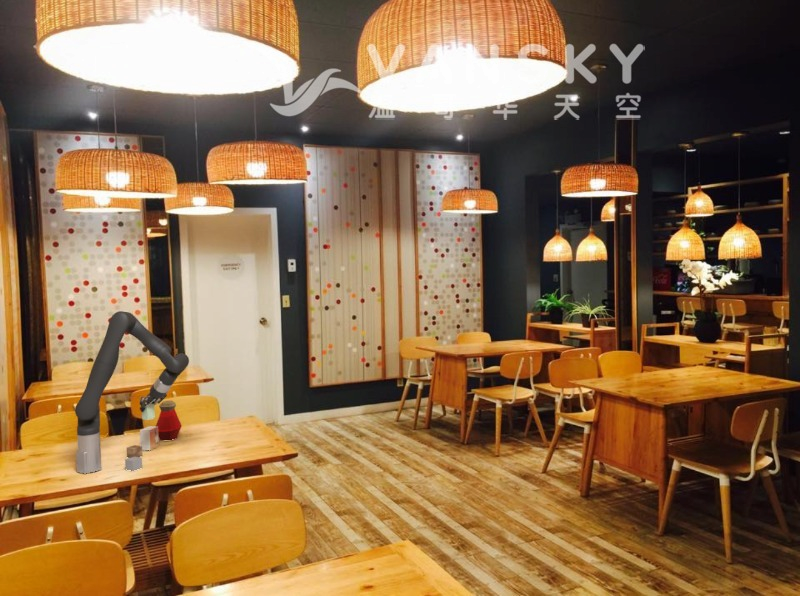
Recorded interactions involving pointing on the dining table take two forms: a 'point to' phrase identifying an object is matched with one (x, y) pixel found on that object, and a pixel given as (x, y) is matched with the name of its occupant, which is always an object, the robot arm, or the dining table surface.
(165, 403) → the bottle
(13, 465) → the dining table surface
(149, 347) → the robot arm
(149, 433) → the small box
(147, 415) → the sage block
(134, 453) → the walnut block
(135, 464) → the grey cube
